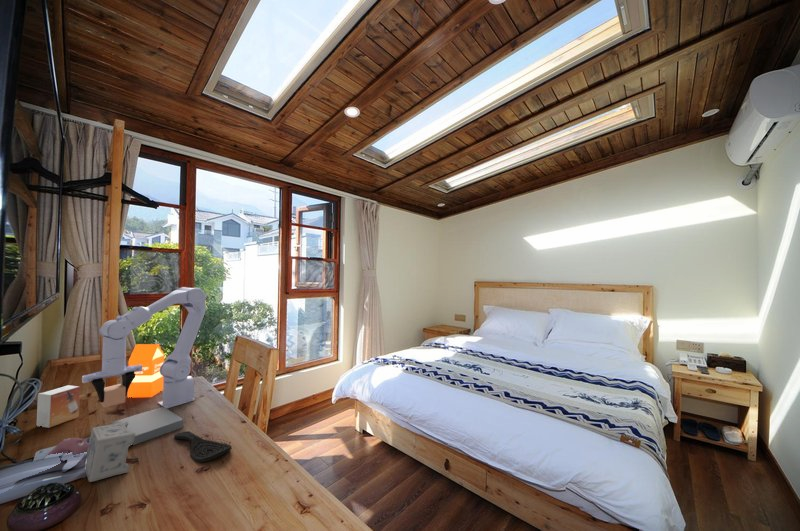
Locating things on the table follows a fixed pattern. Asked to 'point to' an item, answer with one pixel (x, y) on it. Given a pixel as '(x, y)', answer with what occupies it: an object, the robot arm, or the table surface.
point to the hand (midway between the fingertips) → (113, 398)
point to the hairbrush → (203, 447)
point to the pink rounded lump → (71, 446)
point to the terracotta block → (114, 395)
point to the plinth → (152, 424)
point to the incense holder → (108, 451)
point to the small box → (58, 406)
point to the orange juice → (146, 370)
